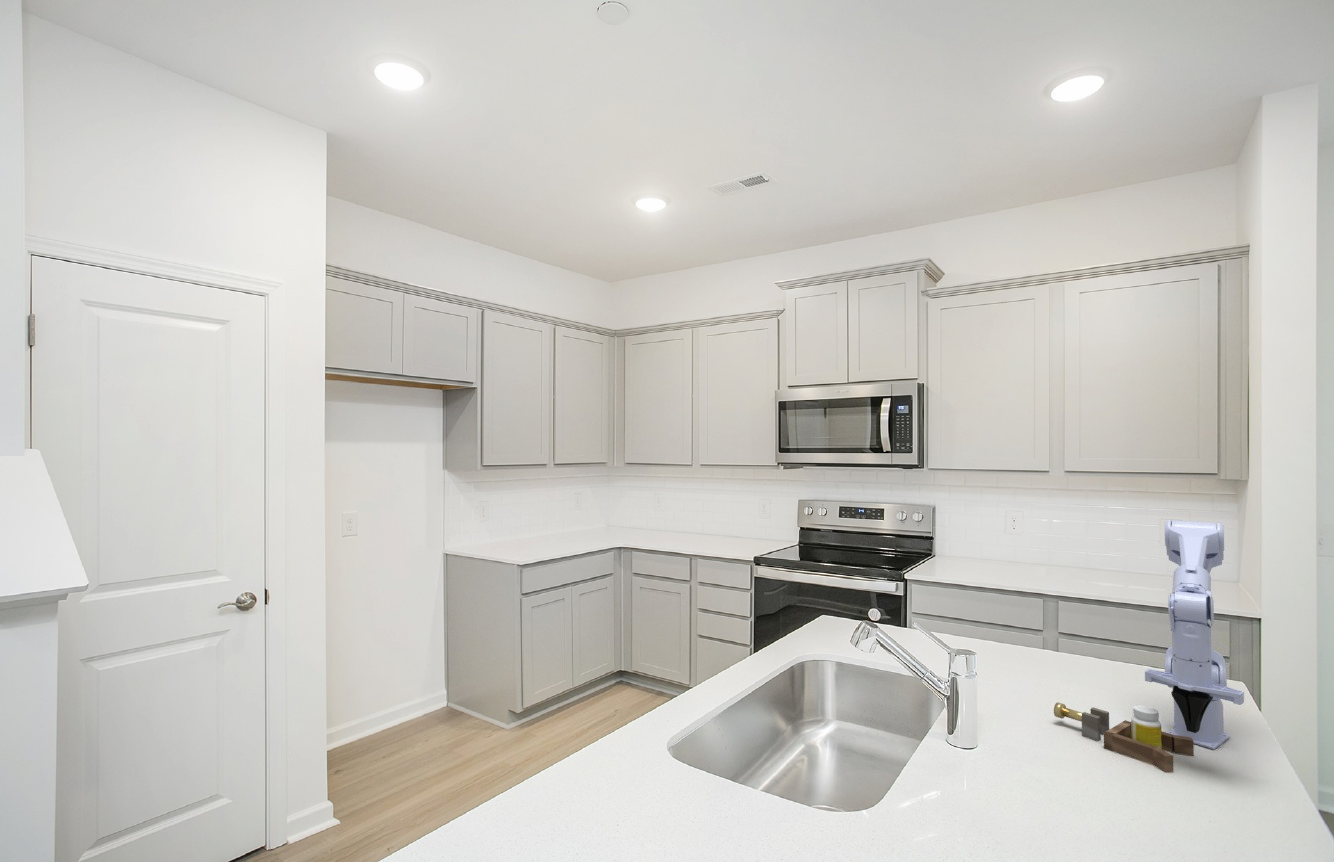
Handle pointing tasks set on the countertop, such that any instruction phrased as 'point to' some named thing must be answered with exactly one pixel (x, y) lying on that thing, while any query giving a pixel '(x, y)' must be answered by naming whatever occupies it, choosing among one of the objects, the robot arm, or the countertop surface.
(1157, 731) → the supplement bottle
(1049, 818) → the countertop surface
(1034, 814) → the countertop surface
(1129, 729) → the dock
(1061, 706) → the lock pin
